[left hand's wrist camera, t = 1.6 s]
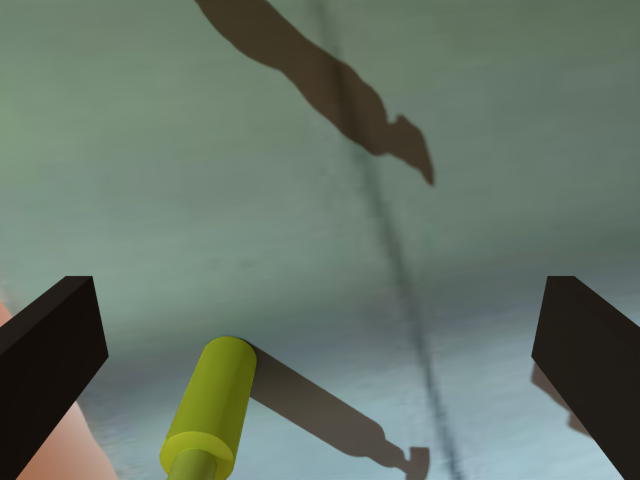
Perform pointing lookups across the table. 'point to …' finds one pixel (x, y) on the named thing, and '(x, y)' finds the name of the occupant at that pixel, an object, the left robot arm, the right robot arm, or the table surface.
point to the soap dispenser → (211, 413)
